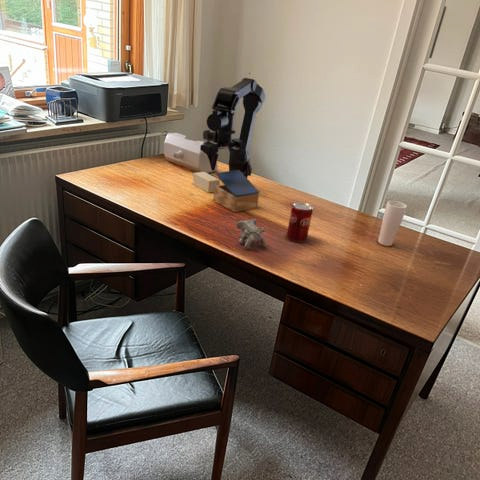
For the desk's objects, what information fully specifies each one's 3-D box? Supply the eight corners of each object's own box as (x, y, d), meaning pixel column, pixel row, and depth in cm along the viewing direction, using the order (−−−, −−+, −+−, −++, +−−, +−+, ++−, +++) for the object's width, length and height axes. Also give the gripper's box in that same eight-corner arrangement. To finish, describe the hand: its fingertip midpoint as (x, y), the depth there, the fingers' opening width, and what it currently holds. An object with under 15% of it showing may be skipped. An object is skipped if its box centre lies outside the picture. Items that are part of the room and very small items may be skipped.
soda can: (308, 237, 170) (315, 205, 164) (304, 244, 165) (310, 211, 158) (289, 232, 172) (295, 200, 165) (284, 239, 166) (289, 206, 160)
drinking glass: (384, 248, 170) (396, 208, 161) (371, 240, 175) (383, 201, 166) (398, 246, 173) (411, 207, 164) (385, 238, 177) (397, 199, 169)
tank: (155, 162, 222) (155, 134, 215) (179, 157, 233) (180, 130, 226) (195, 177, 210) (196, 148, 203) (218, 171, 221) (220, 144, 214)
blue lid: (215, 174, 184) (215, 172, 184) (238, 171, 191) (239, 169, 190) (235, 197, 179) (236, 195, 178) (258, 193, 185) (259, 191, 185)
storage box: (213, 200, 190) (214, 185, 187) (235, 196, 197) (237, 182, 194) (234, 212, 182) (236, 197, 179) (257, 207, 189) (259, 193, 185)
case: (192, 184, 203) (193, 172, 200) (203, 182, 206) (204, 171, 204) (208, 192, 197) (209, 181, 194) (218, 191, 200) (219, 179, 197)
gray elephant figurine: (251, 253, 154) (254, 231, 150) (224, 240, 160) (226, 218, 156) (268, 245, 161) (272, 224, 156) (242, 233, 167) (244, 212, 162)
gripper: (229, 119, 185) (225, 159, 194) (191, 123, 174) (189, 165, 183) (249, 126, 179) (244, 167, 188) (212, 130, 168) (208, 174, 177)
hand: (221, 168), depth 184 cm, fingers open, 9 cm apart
